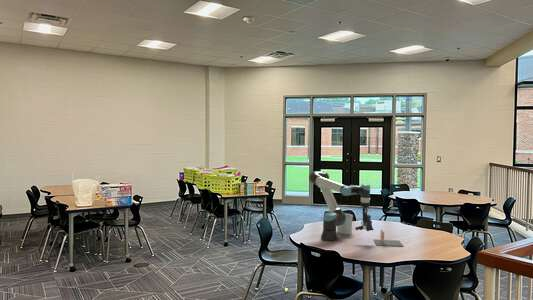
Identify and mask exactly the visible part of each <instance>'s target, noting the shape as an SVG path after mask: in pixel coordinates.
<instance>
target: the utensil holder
mask: <svg viewBox="0 0 533 300" xmlns="http://www.w3.org/2000/svg"><path fill="white" fill-rule="evenodd" d="M345 214H346V216H347V220H346V222H345V223H344V224H342V225H339V226H336V232H337V234H339V235H351V234H352V233H353V232H352V230H353V217H354V216H353V214H350V213H345Z"/></svg>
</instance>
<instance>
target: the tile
mask: <svg viewBox="0 0 533 300" xmlns="http://www.w3.org/2000/svg"><path fill="white" fill-rule="evenodd" d="M379 240H380V241H381V243H382V244H384V240H385V231H384V230H383V229H380V239H379Z"/></svg>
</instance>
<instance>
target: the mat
mask: <svg viewBox="0 0 533 300" xmlns="http://www.w3.org/2000/svg"><path fill="white" fill-rule="evenodd" d="M373 242H374V244H375V245H376V246H379V247H381V246H382V247H396V248H397V247H401V248H404V244H402V242H401V241H400V240H396V239H395V240H393V239H384V244H382V243H381V241H380V239H375V238H374V239H373Z"/></svg>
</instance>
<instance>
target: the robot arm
mask: <svg viewBox="0 0 533 300" xmlns="http://www.w3.org/2000/svg"><path fill="white" fill-rule="evenodd" d="M308 181H309V182H310V183H311V184H312V185H316V186H317V187H318V188H319V189H320V191H321V193H322V195H323V198H324V200H325V203H326V205H327V208H328V210H329V211H328V212H326V213H323V218H322V221H323V223H322V233H321V235H320V240H322V241H326V242H336V241H338V240H339V236H338V233H337V226H339V225H342V224H344V223H345V222H346V220H347V216H346V214H347V213H345V212H344V211H342V209H341V208H340V207H339V205H338V203H337V201H336V198H335V196H334V193H333V192H332V190H333V191H335V192H337V193H340V194H341V195H342V196H352V195H360V207H361V208H362V221H363V222H362V226H363V229H362V230H366V222H367V215H368V211H369V210H368V208H369V207H370V206H371V205H370V202H371V201H370V200H371V196H370V195H371V185H370V184H366V183H363V184H361V185H355V184H354V185H353V184H350V185H345V184H342V183H339V182H336V181H334V180H331V179H330V175H329V173H328V172H327V171H326V170H317V171H312V172H310V174H308ZM363 216H364V217H363ZM366 231H367V230H366Z"/></svg>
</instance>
